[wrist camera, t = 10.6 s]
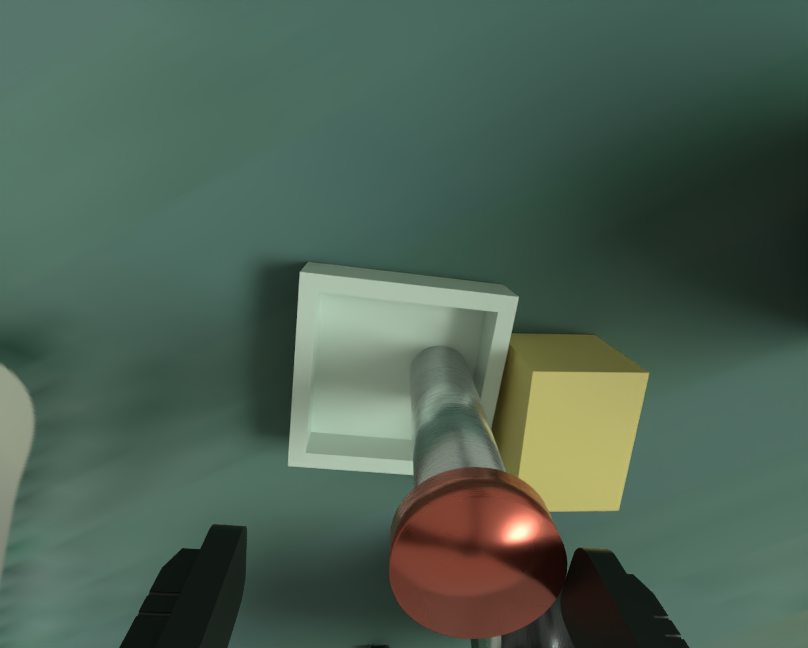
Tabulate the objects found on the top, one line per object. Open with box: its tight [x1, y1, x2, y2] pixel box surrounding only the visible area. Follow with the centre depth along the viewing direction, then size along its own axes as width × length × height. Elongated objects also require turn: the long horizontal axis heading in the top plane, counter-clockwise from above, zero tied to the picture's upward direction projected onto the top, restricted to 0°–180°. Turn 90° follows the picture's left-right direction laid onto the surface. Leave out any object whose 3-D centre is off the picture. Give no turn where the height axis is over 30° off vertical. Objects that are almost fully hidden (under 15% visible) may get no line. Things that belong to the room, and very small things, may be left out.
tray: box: [288, 262, 519, 475], centre depth 22 cm, size 10×10×2 cm
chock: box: [491, 333, 649, 511], centre depth 22 cm, size 7×5×5 cm
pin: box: [389, 346, 567, 639], centre depth 17 cm, size 4×4×12 cm
